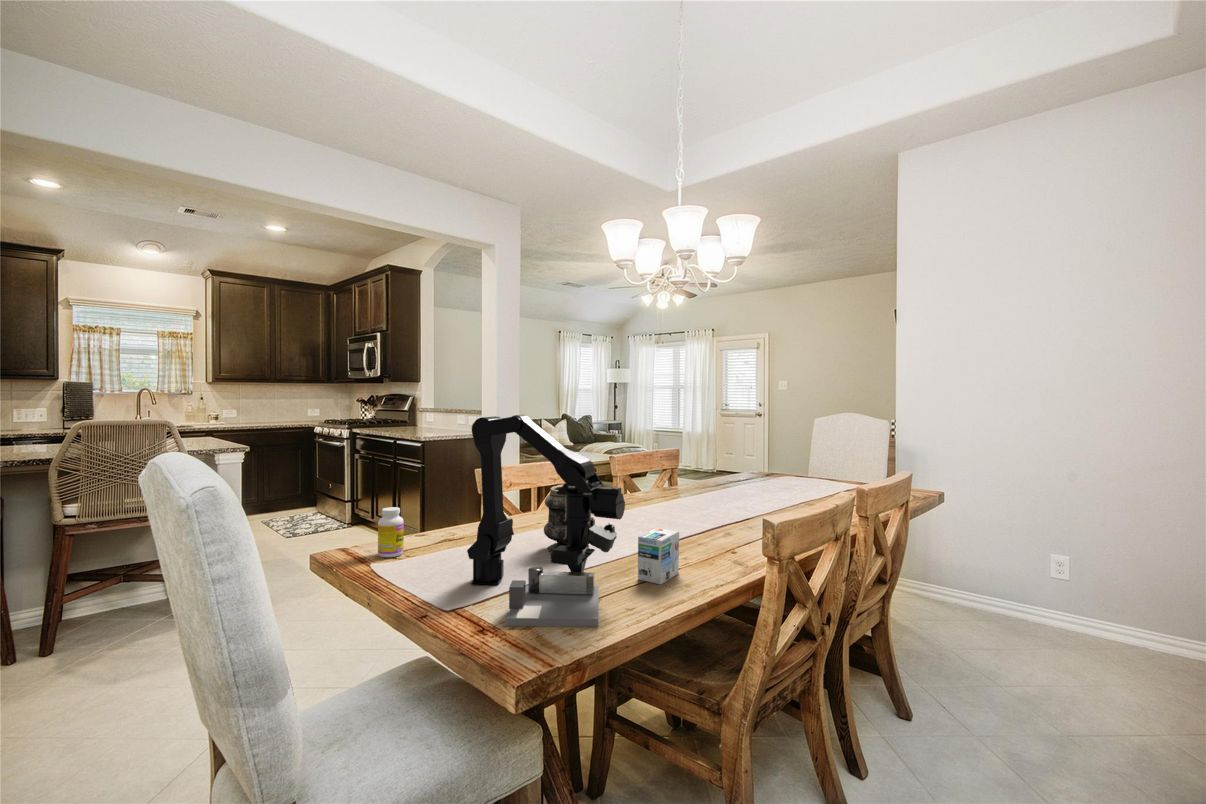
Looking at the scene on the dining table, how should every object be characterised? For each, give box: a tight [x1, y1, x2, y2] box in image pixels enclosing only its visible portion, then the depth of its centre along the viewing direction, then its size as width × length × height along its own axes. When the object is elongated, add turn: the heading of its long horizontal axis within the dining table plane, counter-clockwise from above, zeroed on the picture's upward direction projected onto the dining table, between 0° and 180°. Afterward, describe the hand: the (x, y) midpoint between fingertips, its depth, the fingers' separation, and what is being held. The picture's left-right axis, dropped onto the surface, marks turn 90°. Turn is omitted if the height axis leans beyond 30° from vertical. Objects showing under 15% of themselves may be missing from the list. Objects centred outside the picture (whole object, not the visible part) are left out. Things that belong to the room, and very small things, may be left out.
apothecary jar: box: [543, 485, 569, 554], centre depth 157 cm, size 12×12×18 cm
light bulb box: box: [637, 527, 680, 585], centre depth 136 cm, size 11×7×11 cm, turn 148°
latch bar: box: [527, 566, 596, 595], centre depth 120 cm, size 15×3×5 cm, turn 86°
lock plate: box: [506, 579, 600, 627], centre depth 115 cm, size 18×18×6 cm
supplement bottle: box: [377, 506, 405, 559], centre depth 151 cm, size 7×7×13 cm
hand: (578, 582), depth 123 cm, fingers closed
